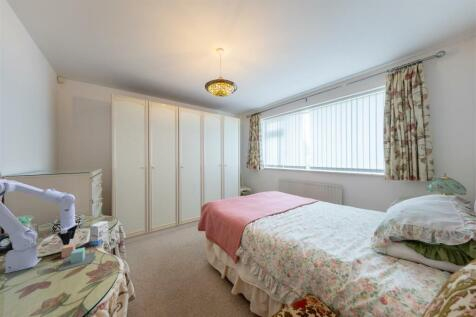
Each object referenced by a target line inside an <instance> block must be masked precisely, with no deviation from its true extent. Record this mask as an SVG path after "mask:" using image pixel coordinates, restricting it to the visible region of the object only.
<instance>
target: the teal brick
mask: <svg viewBox="0 0 476 317" xmlns="http://www.w3.org/2000/svg"><path fill="white" fill-rule="evenodd" d="M85 254H86V247H85V246H84V247H81V248H80V247H79V248H76V249H75V250H73V251H72V253H71V256H70V257H71V264H73V263H77V262H81V261H83V260H84V258H85Z"/></svg>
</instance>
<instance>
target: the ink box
mask: <svg viewBox="0 0 476 317" xmlns="http://www.w3.org/2000/svg"><path fill="white" fill-rule="evenodd" d="M107 240H109V220H106V221H105V220H101V221H98V222H95V223H93V224H91V225H90V227H89V246H99V245H101V244H103V243H104V242H106V241H107Z"/></svg>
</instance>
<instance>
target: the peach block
mask: <svg viewBox="0 0 476 317" xmlns="http://www.w3.org/2000/svg"><path fill="white" fill-rule="evenodd" d="M75 249H77V248H76V242H73V243H69V245H63V246H62V247H61V259H64V258H69V257H71V253H72V251H73V250H75Z"/></svg>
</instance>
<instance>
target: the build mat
mask: <svg viewBox="0 0 476 317" xmlns="http://www.w3.org/2000/svg"><path fill="white" fill-rule="evenodd" d="M95 254H96V251H91V252H87V253H85V258H84V260H83V261H81V262H77V263H73V264H71V256H69V257H65V259H64V261H63V262H62V264H61V265H60V266H59V268H58V270H57V272H59V271H60V272H61V271H64V270H68V269H72V268H76V267H80V266H85V265H89V264H91V263H92V262H93V258H94V256H95Z"/></svg>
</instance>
